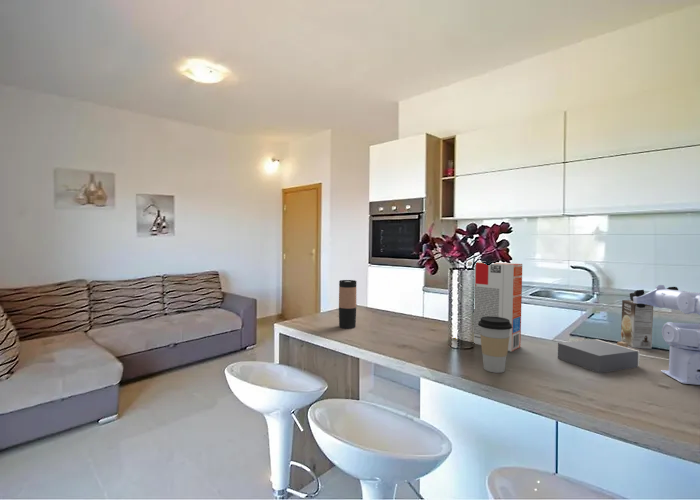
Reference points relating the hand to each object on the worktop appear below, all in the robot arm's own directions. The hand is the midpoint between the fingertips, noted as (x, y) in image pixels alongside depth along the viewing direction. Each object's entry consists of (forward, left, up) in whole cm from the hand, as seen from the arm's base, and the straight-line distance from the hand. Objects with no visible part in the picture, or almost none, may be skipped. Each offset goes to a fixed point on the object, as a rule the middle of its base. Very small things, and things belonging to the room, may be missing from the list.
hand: (643, 295), depth 123 cm
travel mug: (+17, +104, -21) cm, 108 cm away
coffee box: (+15, -6, -21) cm, 26 cm away
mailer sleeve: (-11, +18, -21) cm, 29 cm away
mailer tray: (-9, +16, -20) cm, 27 cm away
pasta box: (+5, +49, -21) cm, 54 cm away
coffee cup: (-25, +51, -21) cm, 60 cm away
